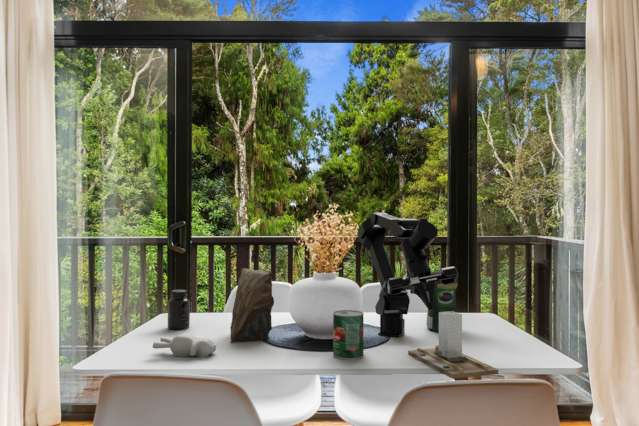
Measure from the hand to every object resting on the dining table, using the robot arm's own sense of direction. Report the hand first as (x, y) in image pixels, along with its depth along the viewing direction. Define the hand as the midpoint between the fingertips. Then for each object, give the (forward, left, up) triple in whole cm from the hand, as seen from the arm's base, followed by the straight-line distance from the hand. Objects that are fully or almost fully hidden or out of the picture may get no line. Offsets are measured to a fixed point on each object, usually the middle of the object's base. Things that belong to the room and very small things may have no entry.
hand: (431, 310), depth 133 cm
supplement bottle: (-80, -7, -12) cm, 81 cm away
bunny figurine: (-56, -31, -12) cm, 65 cm away
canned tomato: (-19, -11, -12) cm, 25 cm away
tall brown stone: (-53, -8, -12) cm, 54 cm away
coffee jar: (-5, +31, -12) cm, 33 cm away
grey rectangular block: (+6, -7, -10) cm, 14 cm away
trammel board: (+6, -6, -11) cm, 15 cm away
